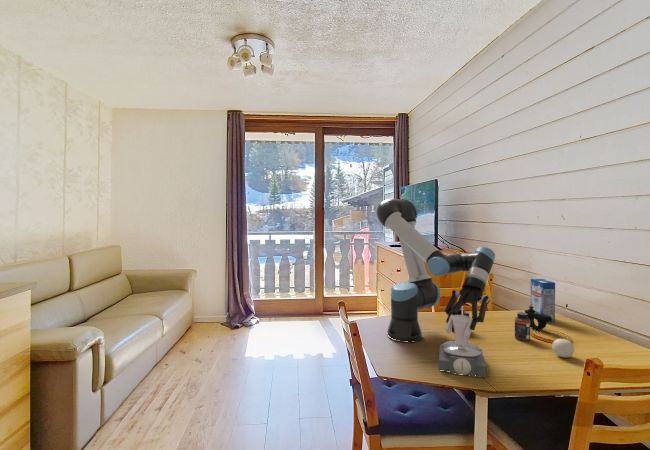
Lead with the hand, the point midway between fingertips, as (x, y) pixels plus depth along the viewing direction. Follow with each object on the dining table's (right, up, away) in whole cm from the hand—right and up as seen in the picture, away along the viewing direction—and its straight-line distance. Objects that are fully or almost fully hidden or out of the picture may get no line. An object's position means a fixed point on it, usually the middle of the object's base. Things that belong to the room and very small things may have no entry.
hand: (456, 334), depth 118 cm
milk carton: (+65, -10, +52) cm, 84 cm away
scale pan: (+3, -7, +3) cm, 8 cm away
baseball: (+44, -12, +9) cm, 47 cm away
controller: (+53, -10, +38) cm, 66 cm away
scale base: (+3, -12, +3) cm, 13 cm away
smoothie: (+3, -4, +3) cm, 6 cm away
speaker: (+17, -11, +38) cm, 43 cm away
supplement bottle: (+39, -11, +27) cm, 49 cm away
